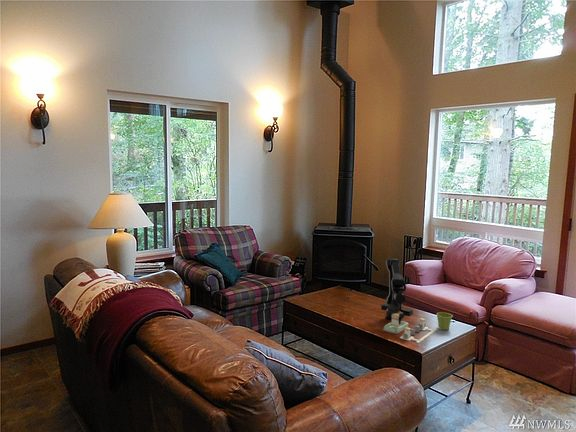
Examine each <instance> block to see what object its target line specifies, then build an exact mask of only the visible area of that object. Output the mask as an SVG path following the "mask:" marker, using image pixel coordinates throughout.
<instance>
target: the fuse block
mask: <svg viewBox="0 0 576 432" xmlns="http://www.w3.org/2000/svg"><path fill="white" fill-rule="evenodd" d="M421 331H422V332H423V331H424V332H425V331H429V332H428V333H426V334H425V335H424V336H422V337H421V338H419V339H418V338H417V339H416V338H415V337H414V336H416V332H417V333H420V332H421ZM436 332H437V328H434V329H431V328H429V326H426V319H425V318H422V317H419V323H418V325H414V329H413V328H411V327H409V326H408V327H405V328H404V333H402V335H400V337H399V339H401V340H405V341H408V342H410V341H414V342H415V343H416V344H417V345H419V344H420V343H422V342H423V341H425V339H428V338H429V337H430V336H431V335H433V334H435V333H436Z"/></svg>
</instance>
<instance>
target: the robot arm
mask: <svg viewBox="0 0 576 432" xmlns="http://www.w3.org/2000/svg"><path fill="white" fill-rule="evenodd" d="M385 266H386V269H387V271H388V273H389V274H388V278H389V279H388V283H389V284H388V285H389V286H388V288H389V289H388V291H389V292H388V293H389V294H388V296H387V297H386V301H385V303H384V304H382V305H381V306H380V310H382V311H386V313H385V317H384V318H385V319H387V320H391V321H392V316H391V315H392V314H395V313H397V314H399V325H400V324H401V322H402V321H403V320H404V317H411V316H412V315H414V310H413V309H410V308H405V309H403V308H404V306H403V303H405V302H406V296H405V295H404V292H406V290H407V284H406V281H405V279H404V276H403V275H402V274H401V270H400V266H401V260H400V259H398V258H387V259H386V260H385Z"/></svg>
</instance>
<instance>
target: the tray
mask: <svg viewBox="0 0 576 432" xmlns="http://www.w3.org/2000/svg"><path fill="white" fill-rule="evenodd" d="M391 324H392V321H391V322H389V323H387V324H385V325H384V326H383V327H382V330H383V331H385V332H387V333H390V334H391V333H392V334H394V335H398V334H399V333H401V332H402V331H405V329H404V328H405V327H408V328H409V327H410V326H409V324H410V323H409V322H407V321H403V320H402V322H401V326H399V327H394V326H391Z"/></svg>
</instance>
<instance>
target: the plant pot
mask: <svg viewBox="0 0 576 432" xmlns="http://www.w3.org/2000/svg"><path fill="white" fill-rule="evenodd" d="M436 317H437V323H438V324H437V325H438V328H439V330H443V331H447V330H448V331H449V330H450V327H451V322H452V318H453V314H451V313H448V312H442V311H441V312H437V313H436Z"/></svg>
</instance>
